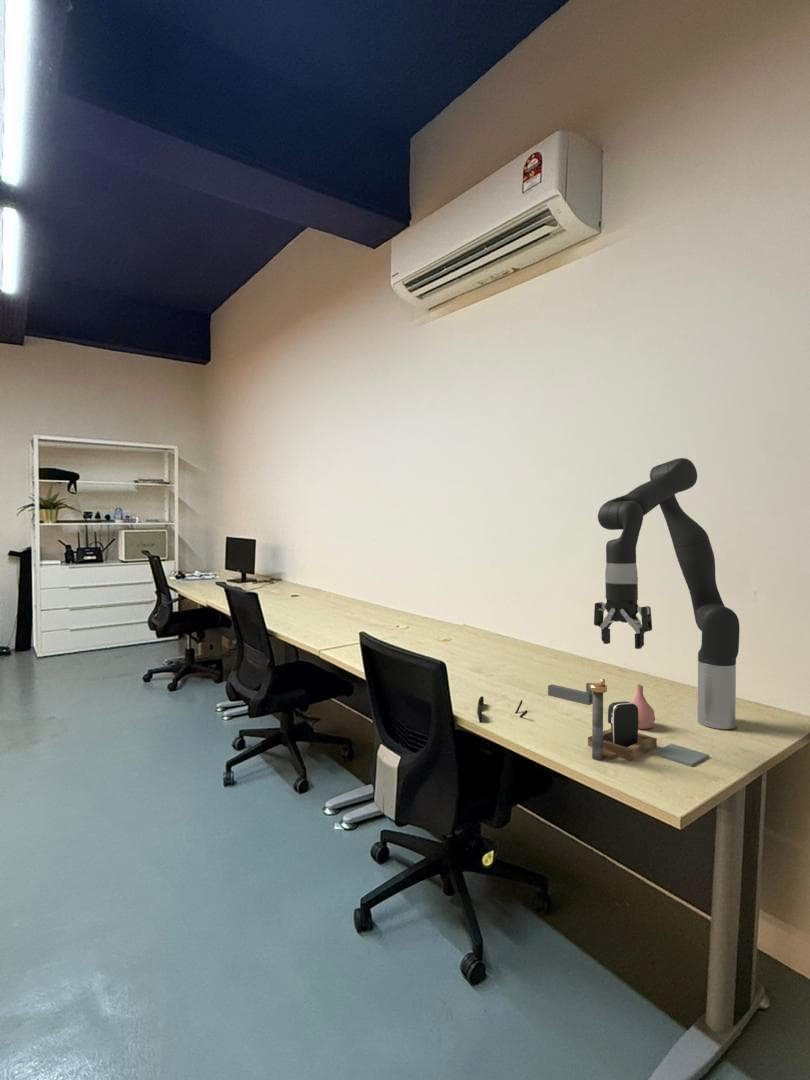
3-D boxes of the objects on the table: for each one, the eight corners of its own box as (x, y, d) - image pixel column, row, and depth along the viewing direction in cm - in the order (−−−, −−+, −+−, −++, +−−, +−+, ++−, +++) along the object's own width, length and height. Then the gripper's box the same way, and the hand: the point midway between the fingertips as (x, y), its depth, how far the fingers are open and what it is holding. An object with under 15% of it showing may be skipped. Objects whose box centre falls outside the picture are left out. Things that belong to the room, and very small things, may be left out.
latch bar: (545, 696, 139) (545, 670, 139) (554, 693, 142) (554, 667, 142) (601, 709, 128) (601, 681, 128) (609, 706, 131) (609, 678, 131)
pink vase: (652, 726, 154) (653, 683, 154) (657, 735, 147) (657, 690, 147) (623, 723, 156) (623, 681, 156) (626, 732, 149) (626, 688, 149)
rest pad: (671, 745, 139) (671, 743, 139) (708, 757, 132) (708, 754, 132) (653, 754, 134) (653, 752, 134) (691, 766, 127) (691, 764, 127)
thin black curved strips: (528, 731, 150) (528, 713, 150) (474, 728, 153) (475, 710, 153) (525, 712, 167) (525, 695, 167) (477, 709, 169) (477, 693, 169)
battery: (629, 743, 141) (629, 699, 141) (639, 749, 137) (639, 703, 137) (605, 746, 139) (605, 701, 139) (615, 752, 135) (615, 705, 135)
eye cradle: (616, 735, 146) (616, 675, 146) (656, 748, 138) (657, 684, 138) (574, 752, 135) (574, 687, 135) (616, 767, 126) (616, 697, 126)
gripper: (587, 580, 141) (588, 644, 141) (641, 583, 130) (642, 652, 130) (603, 579, 146) (604, 640, 146) (656, 581, 135) (657, 648, 135)
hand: (622, 645), depth 138 cm, fingers open, 8 cm apart
